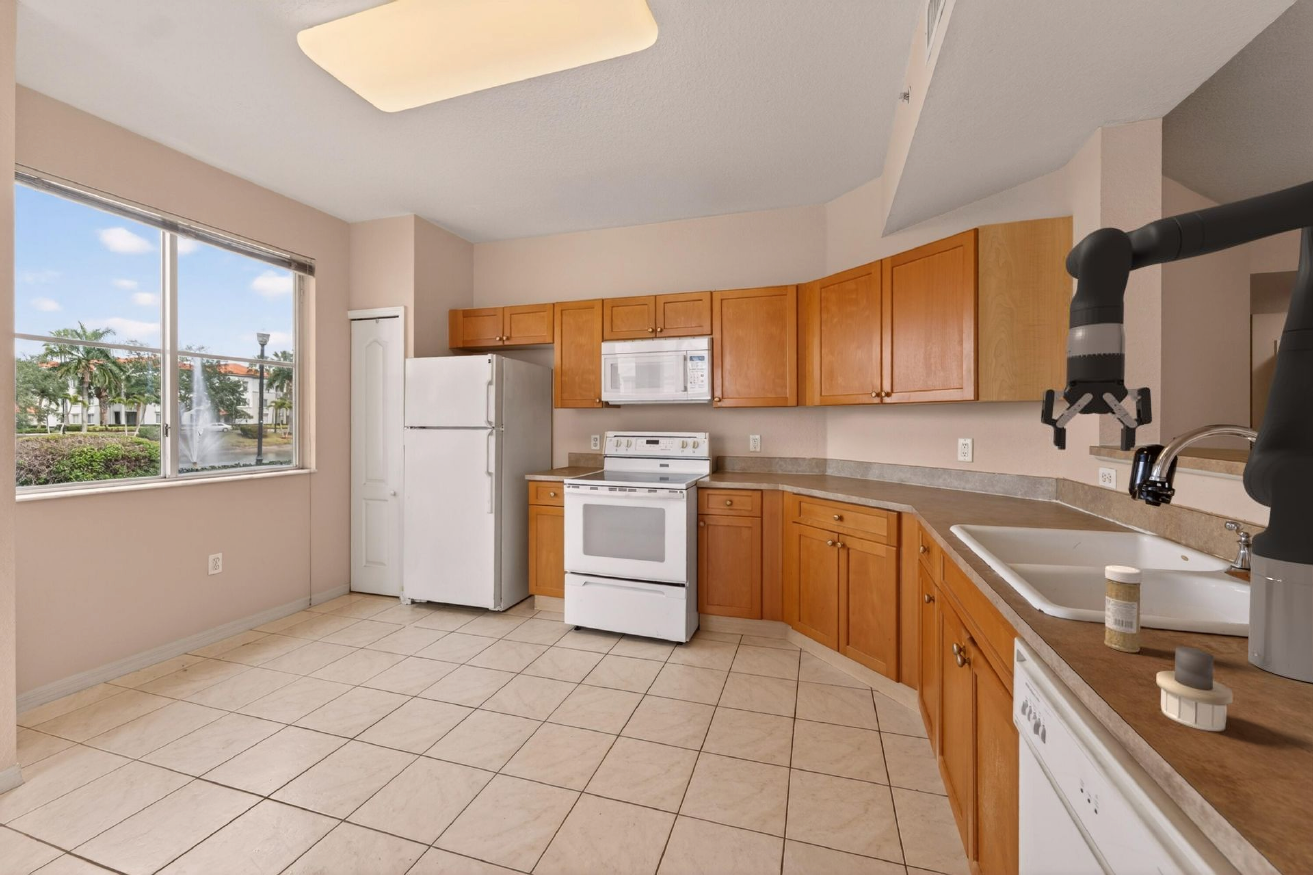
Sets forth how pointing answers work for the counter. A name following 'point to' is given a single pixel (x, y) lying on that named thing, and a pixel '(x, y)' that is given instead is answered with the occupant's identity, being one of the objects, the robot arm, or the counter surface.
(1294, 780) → the counter surface
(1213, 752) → the counter surface
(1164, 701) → the bowl
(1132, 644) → the sprinkles bottle
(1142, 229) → the robot arm
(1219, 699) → the lid
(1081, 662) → the counter surface
